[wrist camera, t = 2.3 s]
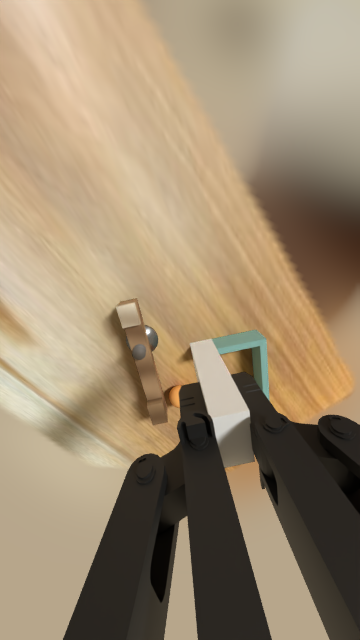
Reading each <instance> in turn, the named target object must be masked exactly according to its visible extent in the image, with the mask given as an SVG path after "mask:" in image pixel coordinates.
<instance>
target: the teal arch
mask: <svg viewBox="0 0 360 640" xmlns="http://www.w3.org/2000/svg"><path fill="white" fill-rule="evenodd" d="M212 341H213V343H214V345H215V347H216V348H217V350H218V352H219V354H224V353H229V352H234V351H238V350H243V349H248V348H252V360H253V372H254V380H255V381H256V383H257V384H258V385H259V387H260V388H261V390H262V391H263V393H264V394H265V395H266V397H267V398H268V400H269V383H268V363H267V343H266V338H265V337H264V336H263V335H262V334H260V333H259V332H258V331H257V330H252V331H247V332H243V333H238V334H233V335H228V336H224V337H219V338H214V339H212Z"/></svg>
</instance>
